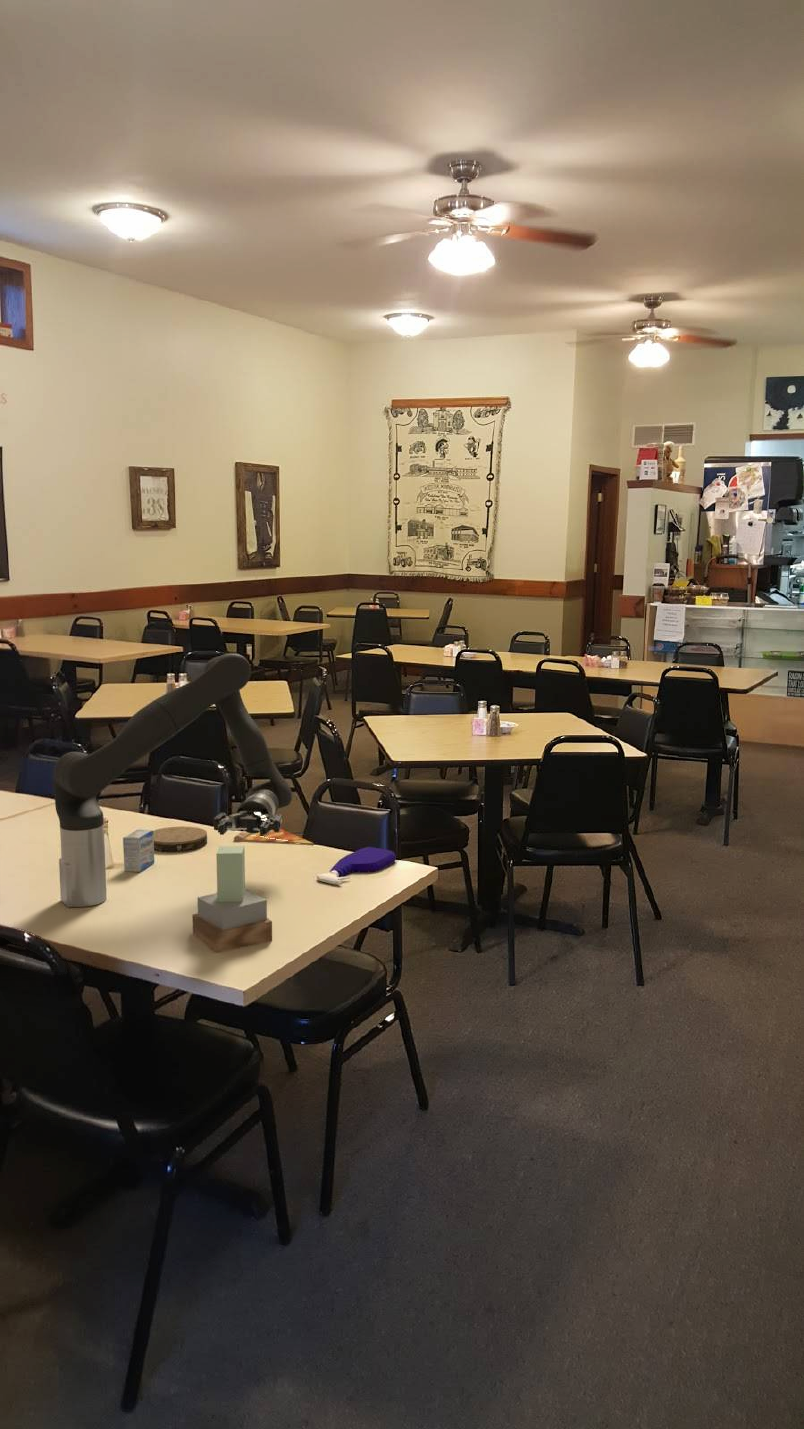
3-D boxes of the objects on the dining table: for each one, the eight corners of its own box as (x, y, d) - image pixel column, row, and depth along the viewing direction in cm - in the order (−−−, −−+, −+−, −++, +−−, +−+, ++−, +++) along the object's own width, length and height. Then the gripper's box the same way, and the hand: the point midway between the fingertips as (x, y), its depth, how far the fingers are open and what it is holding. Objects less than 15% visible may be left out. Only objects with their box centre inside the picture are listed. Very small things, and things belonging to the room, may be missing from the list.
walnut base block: (216, 954, 195) (215, 932, 195) (192, 935, 205) (192, 914, 205) (272, 942, 202) (271, 921, 201) (247, 924, 212) (246, 904, 211)
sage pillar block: (217, 902, 200) (216, 853, 199) (220, 893, 205) (219, 846, 204) (242, 901, 201) (241, 853, 199) (245, 893, 205) (244, 846, 204)
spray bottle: (364, 845, 260) (306, 871, 240) (400, 851, 255) (344, 878, 234) (364, 856, 261) (306, 882, 240) (400, 863, 255) (344, 891, 235)
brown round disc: (142, 840, 274) (142, 829, 273) (201, 834, 280) (200, 824, 279) (151, 856, 259) (150, 844, 259) (212, 850, 265) (212, 838, 265)
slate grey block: (223, 930, 196) (222, 910, 195) (197, 916, 203) (197, 897, 203) (266, 919, 202) (266, 900, 202) (240, 905, 210) (240, 887, 209)
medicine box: (140, 872, 245) (139, 838, 243) (123, 871, 245) (122, 837, 244) (154, 863, 252) (153, 829, 251) (138, 862, 253) (137, 828, 252)
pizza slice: (261, 856, 260) (261, 848, 260) (223, 837, 278) (222, 830, 278) (313, 846, 269) (313, 839, 269) (273, 828, 287) (272, 821, 287)
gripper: (225, 795, 228) (208, 812, 212) (287, 797, 228) (275, 814, 212) (225, 827, 229) (208, 847, 213) (287, 829, 229) (275, 849, 213)
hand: (241, 830), depth 213 cm, fingers open, 8 cm apart
